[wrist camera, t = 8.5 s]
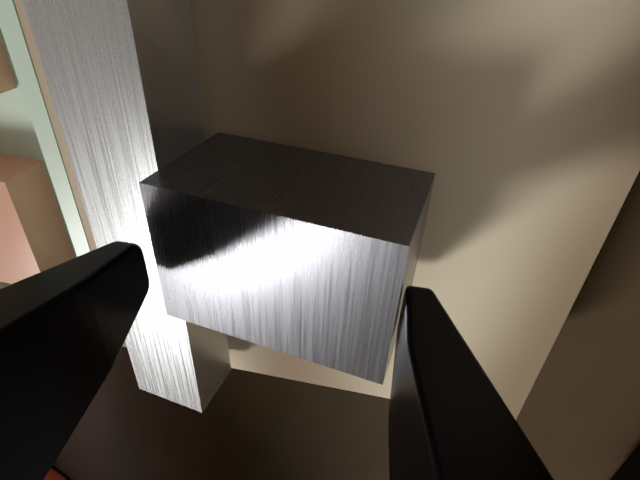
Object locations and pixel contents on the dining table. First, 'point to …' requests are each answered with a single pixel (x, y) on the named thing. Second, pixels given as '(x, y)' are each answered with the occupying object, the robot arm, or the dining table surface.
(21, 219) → the tile
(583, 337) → the dining table surface
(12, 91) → the tray
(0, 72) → the tile
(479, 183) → the board
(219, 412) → the dining table surface
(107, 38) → the scraper
